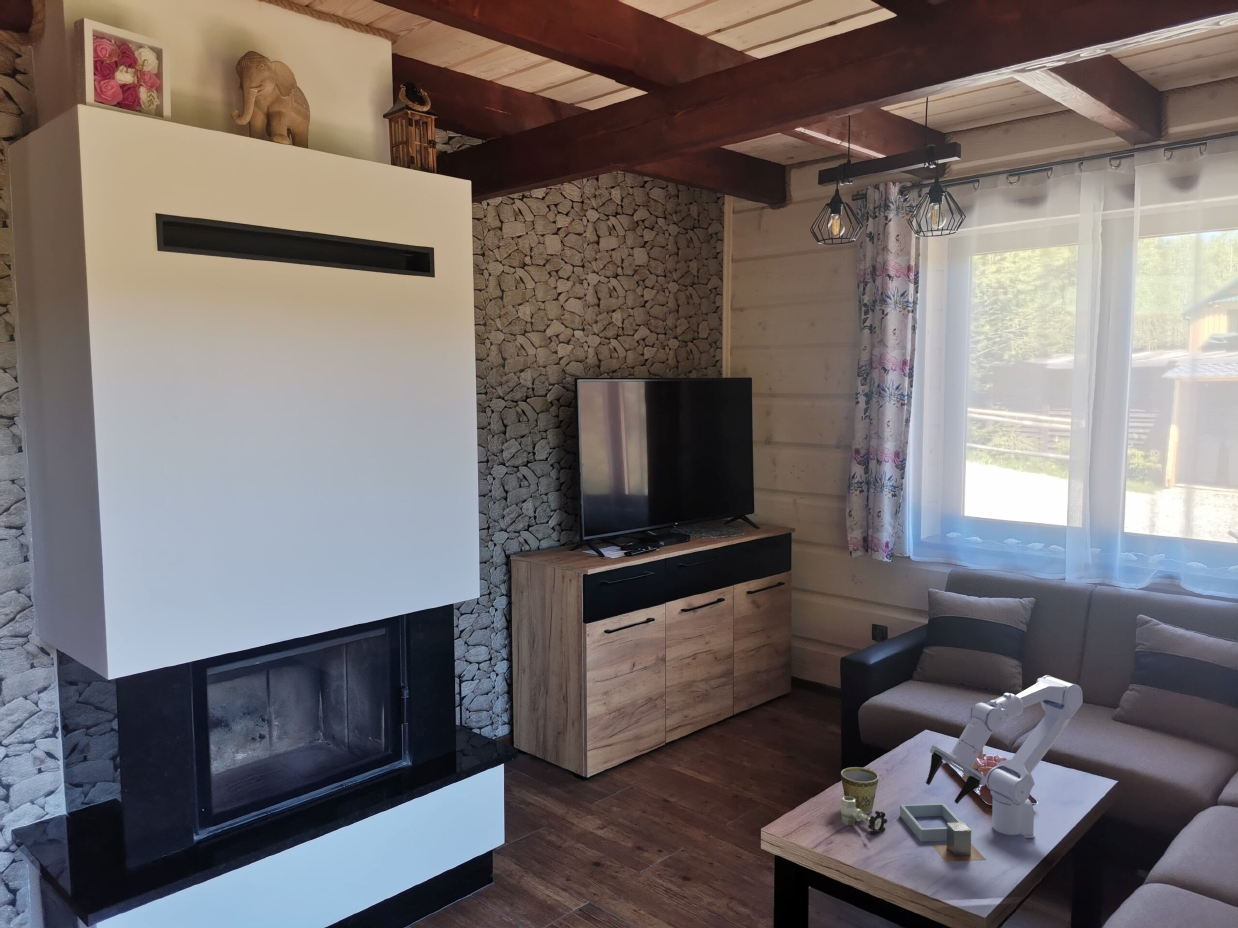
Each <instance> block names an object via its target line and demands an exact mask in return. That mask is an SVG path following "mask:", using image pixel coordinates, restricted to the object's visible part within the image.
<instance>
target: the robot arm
mask: <svg viewBox="0 0 1238 928" xmlns="http://www.w3.org/2000/svg"><path fill="white" fill-rule="evenodd" d="M1083 695H1084V694H1083V690H1082V688H1081V686H1080V685H1078V684H1076V683H1071V682H1068V681H1065V680H1062V679H1060V678H1057V677H1053V676H1052V675H1049V674H1046V675H1044V676H1042V677H1038V678H1037V680H1036V683H1035V684H1033V685H1031V686H1029V687H1028V688H1026V689H1025V690H1023V691H1021V692H1019V693H1017V694H1013V693H1011V692H1010V693H1009V692H1005V693H1003V695H1002V696H1000V697H997V698H995V699H992V700H989V702H986V703H985V702H978V703H976V704H974V705H973V706H971V707H970V709H969V711H968V712H969V713H968V720H967V721H966V726H965V728H964V729H963V731H962V733H961V734H960V736H959V738H958V740H957V741H956V744H955V745H954V746H953V748H952V750H951V752H950V753H949V752H947V751H946V750H943V749H941V748H940V747H938V746H936V745H935V744H932V746H931V747H930V749H929V753H931V756H930V759H931V760H930V767H929V772H928V774H927V775H928V777H927V779H926V781H925V784H926V785H928V786H930V785H931V783H932V781H933V780H934V777H935V775H936V774H937V772H938V770H939V769H940V768H941V766H942V765H943V764H944V762H946V763H947V764H949V765H951V766H952V767H953V768H955V769H957V770H958V771H960V772H961V773H963V774H964V775H966V776H968V777H967V779H966V781H965V782H964V785H963V787H962V789H961V790H960V791H959V793H958V794H957V796H956V797H955V799H954V803H955V804H959V803H960V801H962V800H963V799H964V797H966V796H967V795H968V794H969V793H971V792H973V790H976V789H977V788H979V786H980V785H982V786H983V787H985V786H986V787H987V788H988V790H990V792H989V794H990V795H991V796H992V809H991V811H992V812H991V815H992V817H991V818H992V819H991V820H992V821H991V826H992V829H993V830H994V831H996V832H997V833H1000V834H1003V835H1009V836H1016V835H1017V836H1018V835H1021V836H1023V838H1025V839H1035V838H1036V835H1035V834H1034V831H1035V830H1034V827H1035V826H1034V825H1035V823H1034V822H1035V818H1034V817H1035V816H1034V814H1035V812H1034V807H1033V806H1034V805H1033V803H1032V802H1031V800H1030V799H1029V798H1030V795H1031V791H1032V789H1033V787H1034V786H1035V781H1034V778H1033V774H1032V772H1033V771H1034V770H1035V768H1036V767H1037V766H1038V765H1039V763H1040V762H1041V760H1042V759H1043V757H1044V756H1045V755H1046V754H1047V752H1048V751H1049V750H1050V748H1051V747H1052V746H1053V745H1054V743H1055V742H1056V741H1057V739H1058V738H1059V736H1060V735H1061V734H1062V732H1063V731H1064V730H1065V729H1066V727H1067V726H1068V725H1069V723H1070V721H1071V719H1072V718H1073V717H1074V715H1075V714H1076V712H1078V710H1079V709H1080V708H1081V706H1082V705H1083V704H1084V701H1083V698H1084V696H1083ZM1038 703H1040V705H1041V708H1042V709H1043V710H1044V713H1045V714H1044V716H1043V717H1042V718H1041V720H1040V721H1039V722H1038V724H1037V725H1036V727H1034V729H1033V730H1032V732H1031V733H1030V735H1029V736H1028V737H1027V738H1026V740H1025V741H1024V742H1023V743H1022V745H1021V746H1020V747H1019V748H1018V750H1017V751H1016V752H1015V754H1014V755H1013V756H1012V758H1010V759H1006V760H1005V759H1004V760H1001V761H999V762H998V764H997V765H995V766H993V767H992V768H990V769H989V770H988V772H987V774H986V776H985V775H984V774H982V773H980V772H979V771H978V770H976V769H974V768H973V765H974V764H975V763H976V760H977V759H978V758H979V755H980V754H981V752H982V751H983V749H984V747H985V746H986V743H987V742H988V740H989V739H990V737H991V734H992V733H993V732H997V731H1000V730H1001V729H1002V728H1003V727H1004V724H1006V723H1007V722H1008V721H1009V720H1011V719H1013V718H1015V717H1018V716H1020V715H1022V714H1023V711H1024V708H1027V707H1029V706H1032V705H1036V704H1038Z"/></svg>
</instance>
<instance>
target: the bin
mask: <svg viewBox="0 0 1238 928" xmlns="http://www.w3.org/2000/svg"><path fill="white" fill-rule="evenodd" d="M899 817H901V819H902V820H903V821H904V823H905V824H906V825H907V826H908V828H909V829H910V830H911V831H912V832H913V834H914V835H915V836H916V837H917V839H918V840H919V841H920V842H940V841H941V842H942V841H944V842H945V841H946V842H947V826H942V827H941V826H940V827H922V825H921V824H920V823H919V822H918V821H917V820H916V817H917V818H918V817H919V818H920V817H943V818H944V820H946V823H955V822H962V821H961V820H960V819H959V818H958V817H957V815H956V814H955V813H954V812H953V811H952V810H951V809H950V808H949V807H948V806H947V805H946V804H945V803H944V802H943V803H942V802H940V803H918V804H917V803H916V804H915V803H914V804H900V805H899Z"/></svg>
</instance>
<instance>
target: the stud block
mask: <svg viewBox="0 0 1238 928" xmlns="http://www.w3.org/2000/svg"><path fill="white" fill-rule="evenodd" d="M932 847H933V848H934V849H935V850H936V852H937V853H938V854H939V855H940V857H941V858H942V859H943V860H944V861H945V862H962V861H963V862H964V861H986V860H987V859H986V858H985V857H984V855H983V854H981V852H980V851H978V849H977V848H976V847H975V846H974V845H973V844H972V843H971V856H962V857H954V856H953V855H952V854H951V853H950V852H949V850H948V849H947V843H945V844H944V843H941V844H932Z"/></svg>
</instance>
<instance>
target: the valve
mask: <svg viewBox="0 0 1238 928" xmlns="http://www.w3.org/2000/svg"><path fill="white" fill-rule="evenodd" d="M855 805H856V799H855V798H854V797H852V796H844V795H843V796H842V798H841V806H840V813H841V823H842V824H844V825H846V826H855V824H856V821H857V822H861V821H863V822H865V823H868V825H867V828H868V829H869V830H871V831H870V835H871V836H876V834H879V833H881V832H885V831H886V827H885V825H886V824H887V823H888V819H887V818H885V817H886V813H885V812H883V811H879V810H876V811H874V814H875V816H873V815H868V814H867V815H865V814H863V811H862V810H860V809H857V808H856V806H855Z"/></svg>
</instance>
